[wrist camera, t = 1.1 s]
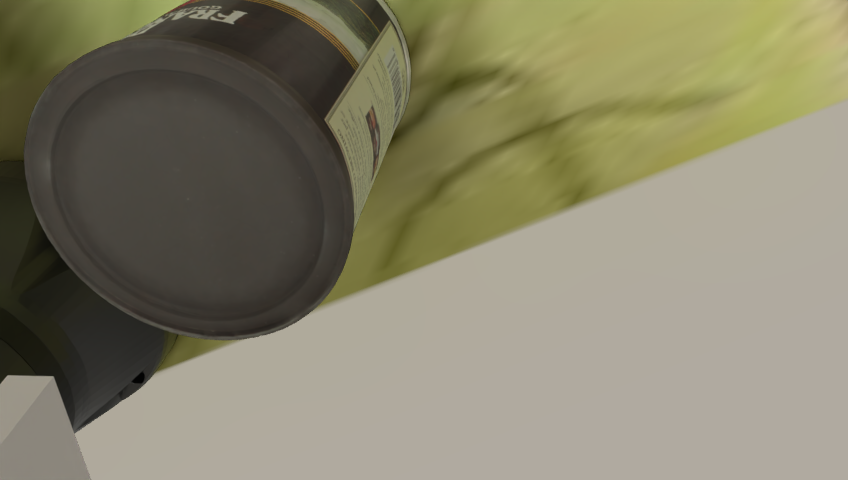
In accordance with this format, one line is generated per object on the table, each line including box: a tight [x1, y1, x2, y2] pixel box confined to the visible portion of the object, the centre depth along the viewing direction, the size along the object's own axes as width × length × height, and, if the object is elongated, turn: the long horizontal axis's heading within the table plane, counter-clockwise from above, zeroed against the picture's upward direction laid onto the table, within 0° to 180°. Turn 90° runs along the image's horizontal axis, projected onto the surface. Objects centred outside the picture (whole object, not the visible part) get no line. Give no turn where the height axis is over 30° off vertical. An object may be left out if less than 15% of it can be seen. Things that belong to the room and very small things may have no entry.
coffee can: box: [24, 0, 411, 340], centre depth 29 cm, size 10×10×14 cm
